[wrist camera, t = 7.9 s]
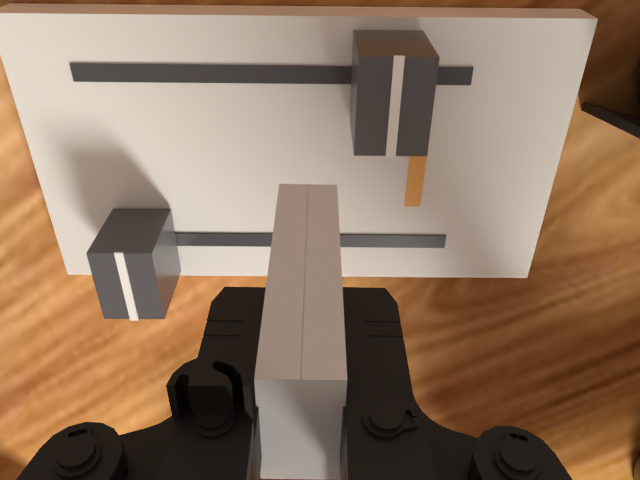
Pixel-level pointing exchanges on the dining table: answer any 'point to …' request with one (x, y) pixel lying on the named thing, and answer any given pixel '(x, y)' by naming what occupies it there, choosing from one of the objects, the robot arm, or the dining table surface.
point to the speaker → (616, 115)
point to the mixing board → (293, 128)
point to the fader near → (392, 92)
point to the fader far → (135, 263)
